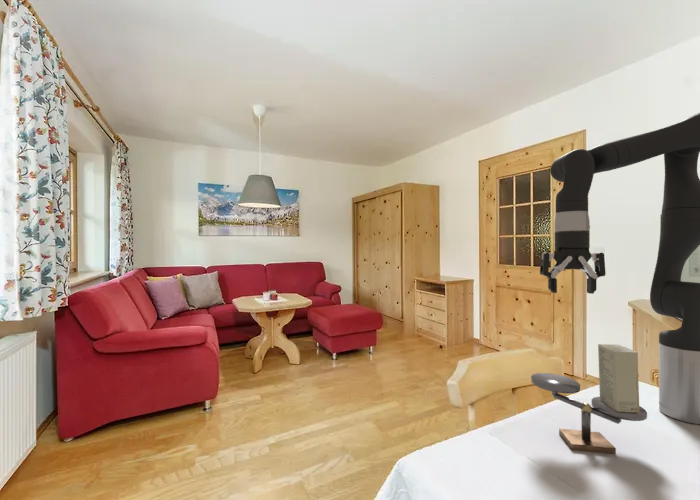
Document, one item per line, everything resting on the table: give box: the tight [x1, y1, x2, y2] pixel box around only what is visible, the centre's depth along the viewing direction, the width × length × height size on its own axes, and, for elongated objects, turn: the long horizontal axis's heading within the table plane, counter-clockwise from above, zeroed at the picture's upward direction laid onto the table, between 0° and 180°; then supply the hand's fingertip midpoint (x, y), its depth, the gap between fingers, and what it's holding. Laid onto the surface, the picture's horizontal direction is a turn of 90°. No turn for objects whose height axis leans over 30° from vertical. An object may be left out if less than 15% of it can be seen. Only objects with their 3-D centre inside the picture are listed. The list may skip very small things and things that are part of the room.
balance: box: [530, 372, 648, 455], centre depth 70 cm, size 21×9×13 cm, turn 79°
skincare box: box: [597, 343, 640, 413], centre depth 69 cm, size 6×4×12 cm
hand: (571, 292), depth 85 cm, fingers open, 8 cm apart
